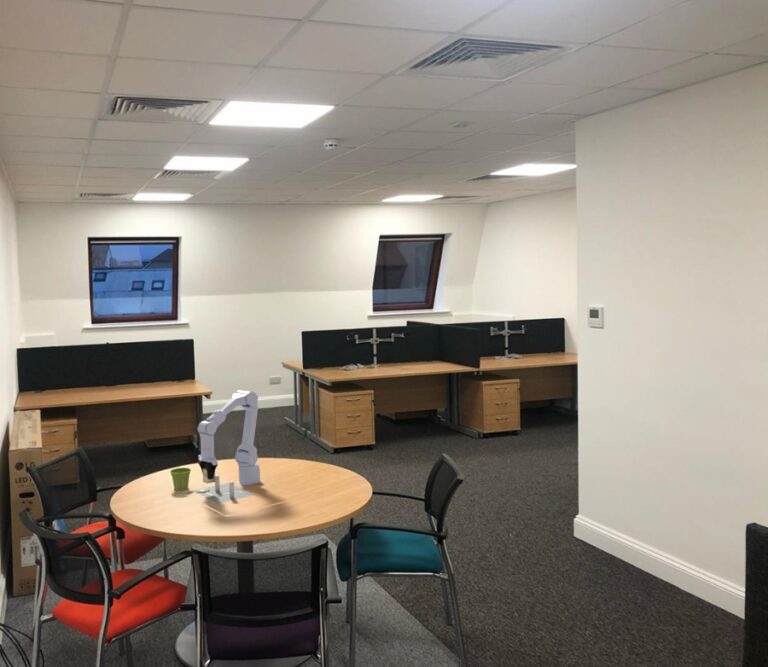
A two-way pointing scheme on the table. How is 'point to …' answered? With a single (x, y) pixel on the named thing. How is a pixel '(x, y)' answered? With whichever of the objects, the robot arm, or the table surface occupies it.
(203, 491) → the pad
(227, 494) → the board
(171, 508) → the table surface
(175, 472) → the plant pot
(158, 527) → the table surface
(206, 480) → the block
